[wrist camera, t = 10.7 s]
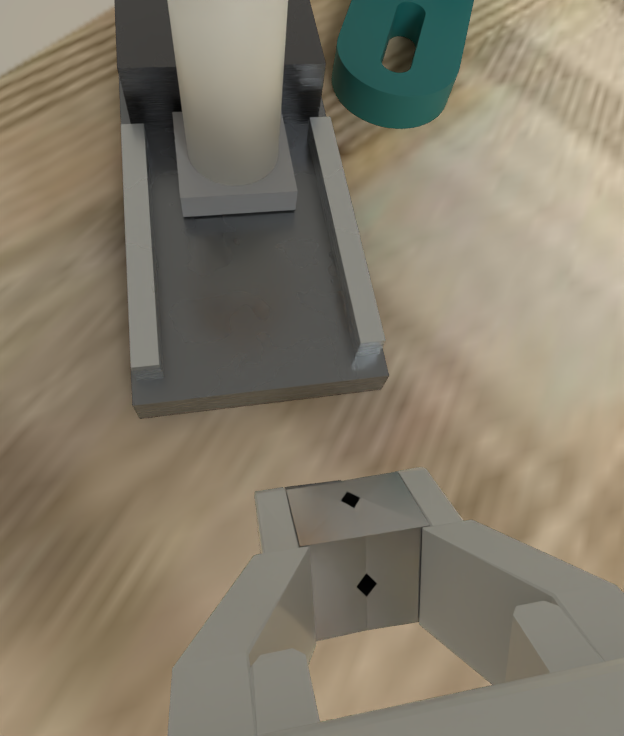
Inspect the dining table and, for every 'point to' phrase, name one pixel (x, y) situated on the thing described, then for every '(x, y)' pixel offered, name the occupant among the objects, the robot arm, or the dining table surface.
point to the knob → (231, 107)
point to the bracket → (429, 65)
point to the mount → (239, 249)
